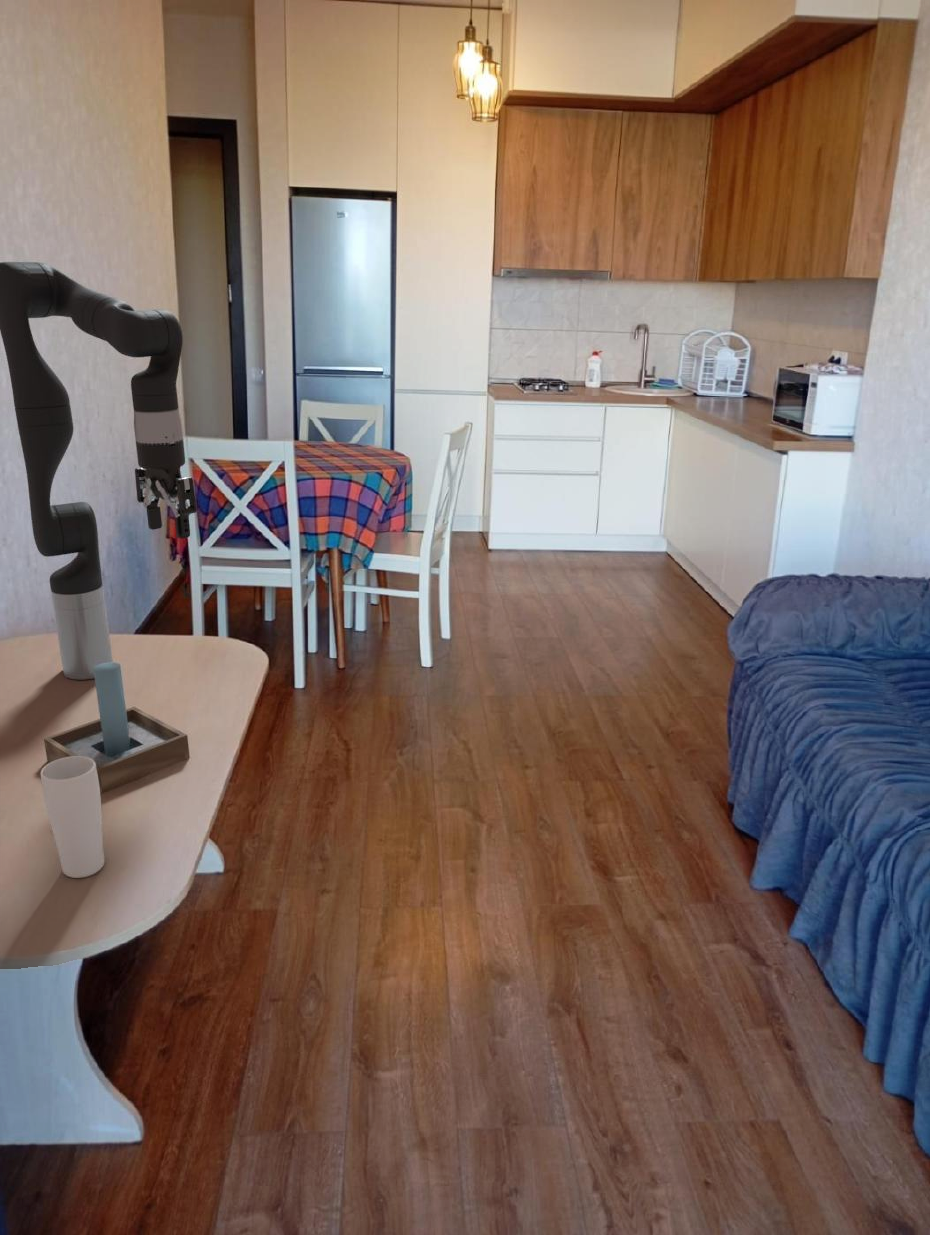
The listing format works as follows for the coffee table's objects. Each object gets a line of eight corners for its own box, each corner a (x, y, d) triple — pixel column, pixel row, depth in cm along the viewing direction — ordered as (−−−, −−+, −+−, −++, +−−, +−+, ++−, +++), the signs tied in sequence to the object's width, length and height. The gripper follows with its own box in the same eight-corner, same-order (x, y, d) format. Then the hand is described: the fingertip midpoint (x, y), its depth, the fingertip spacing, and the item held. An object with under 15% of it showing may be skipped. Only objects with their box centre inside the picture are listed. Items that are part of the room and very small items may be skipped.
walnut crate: (47, 760, 161) (43, 738, 159) (137, 727, 172) (134, 706, 170) (97, 794, 150) (94, 771, 149) (189, 757, 162) (187, 734, 160)
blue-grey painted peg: (101, 759, 161) (88, 667, 156) (123, 750, 164) (112, 660, 158) (114, 767, 159) (101, 674, 153) (136, 758, 161) (125, 666, 156)
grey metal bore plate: (54, 760, 161) (52, 746, 160) (135, 730, 171) (133, 717, 170) (100, 790, 152) (97, 776, 151) (182, 757, 162) (181, 743, 161)
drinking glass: (47, 869, 132) (30, 768, 127) (95, 848, 137) (80, 750, 132) (71, 889, 128) (55, 786, 123) (120, 867, 133) (106, 766, 127)
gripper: (115, 435, 166) (127, 530, 171) (163, 445, 157) (173, 545, 162) (155, 429, 171) (165, 521, 177) (203, 439, 162) (212, 536, 168)
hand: (169, 533), depth 169 cm, fingers open, 8 cm apart
